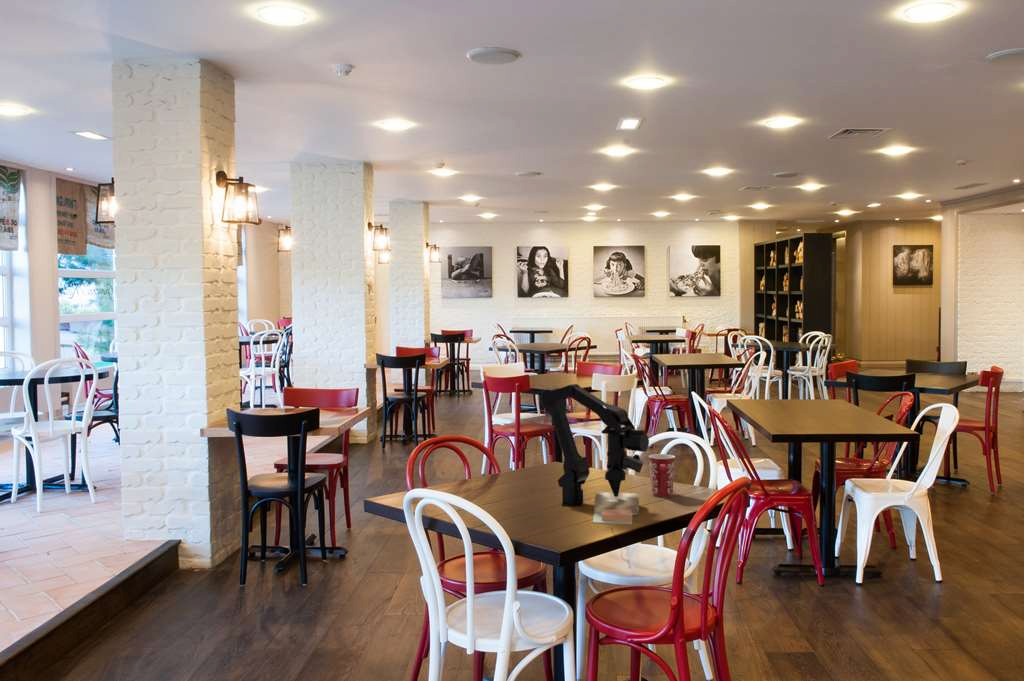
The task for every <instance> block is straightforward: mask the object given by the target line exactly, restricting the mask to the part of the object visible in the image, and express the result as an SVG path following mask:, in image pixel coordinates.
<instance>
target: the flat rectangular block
mask: <svg viewBox="0 0 1024 681" xmlns="http://www.w3.org/2000/svg"><path fill="white" fill-rule="evenodd" d="M602 521H628V522H631V510H606V509H602Z"/></svg>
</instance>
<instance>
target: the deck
mask: <svg viewBox="0 0 1024 681" xmlns="http://www.w3.org/2000/svg"><path fill="white" fill-rule="evenodd" d="M639 495H640V494H639V492H638V493H635V492H634V493H633V492H630V493H629V492H619V494H618V497H615V496H614V494H613V492H598V491H597V492H595V496H594V502H593V503H594V508H593V509H594V513H602V509H606V510H631V514H633V516H635V515H636V516H639V515H640V496H639ZM594 513H593V514H594Z"/></svg>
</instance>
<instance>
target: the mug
mask: <svg viewBox="0 0 1024 681" xmlns="http://www.w3.org/2000/svg"><path fill="white" fill-rule="evenodd" d="M648 458H649V473H650V474H649V475H650V485H651V486H650V487H651V488H650V492H651V495H652V496H654V497H658V498H659V497H660V498H668V497H672V496H673V494H674V478H675V477H674V476H675V461H676V460H675V459H676V456H675V455H672V454H667V453H666V454H665V453H655V454H649V455H648Z"/></svg>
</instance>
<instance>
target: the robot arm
mask: <svg viewBox="0 0 1024 681" xmlns="http://www.w3.org/2000/svg"><path fill="white" fill-rule="evenodd" d="M568 399H573V400H574V401H576V402H577V403H579V404H581V405H582V406H584V407H585V408H587V409H588V410H590V411H591V412H593V413H594V414H596V415H597V416H598V417H599V419H600V421H601V422H602V423H603V424H604V425H605V428H603V429H602V430H601V434H604V435H607V444H606V445H607V448H606V449H607V451H606V456H607V464H606V471H605V473H604V476H605V477H604V479H605V480H606V481H608V483H609V486H610V488H611V491H612V493H613V494H614V496H615V497H618V494H619V493H620V489H621V488H620V487H621V483H622V482H623V481H626V477H627V473H626V471H627V470H628V469H629V470H632V471H635V473H639V474H640V473H641V471H642V468H643V465H644V461H643V460H642V459H641V456H640V455H639V454H636V453H635V454H634V455H632V456H631V455H628V454H627V453H628V452H627V451H634V452H642V453H644V452H647V451H648V449H649V446H650V445H649V444H650V439H649V436H648V434H647V433H646V430H645V429H636V427H635V426H634V424H633V422H632V420H630V418H629V415H628V411H627V410H626V409H624V408H622V407H620V406H617V405H612V404H609V403H607V402H605V401H603V400H601V399H600V398H598V397H597V396H595V395H593V394H592V393H591V392H589V391H588V390H585V389H584V388H582V387H581V386H580V385H579V384H578V383H572V384H567V385H566V386H562V387H555V388H549V389H545V390H543V391H542V392H541V395H540V402H541V404H542V406H543V409H544V411H546V413H548V415H550V417H551V419H552V420H551V421H552V423H553V426H554V430H555V433H556V435H557V438H558V439H557V440H558V441H559V445H560V449H561V452H562V454H563V463H562V464H563V466H562V469H563V474H562V476H561V477H560V478H559V479H558V480H557V484H558V486H559V487H561V490H562V491H561V494H562V496H561V497H562V502H561V506H571V507H572V506H578V507H580V506H582V504H583V503H584V501H585V500H584V489H583V486H582V485H585V483H586V480H587V479H588V478H589V476H590V469H591V467H590V466H589V465H590V464H589V463H588V458H587V457H586V456H584V457H583V456H581V454H580V453H579V451H578V447H577V445H576V441H575V438H574V434H573V432H572V430H571V426H570V423H569V420H568V417H567V412H566V410H567V404H568V403H567V400H568Z"/></svg>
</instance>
